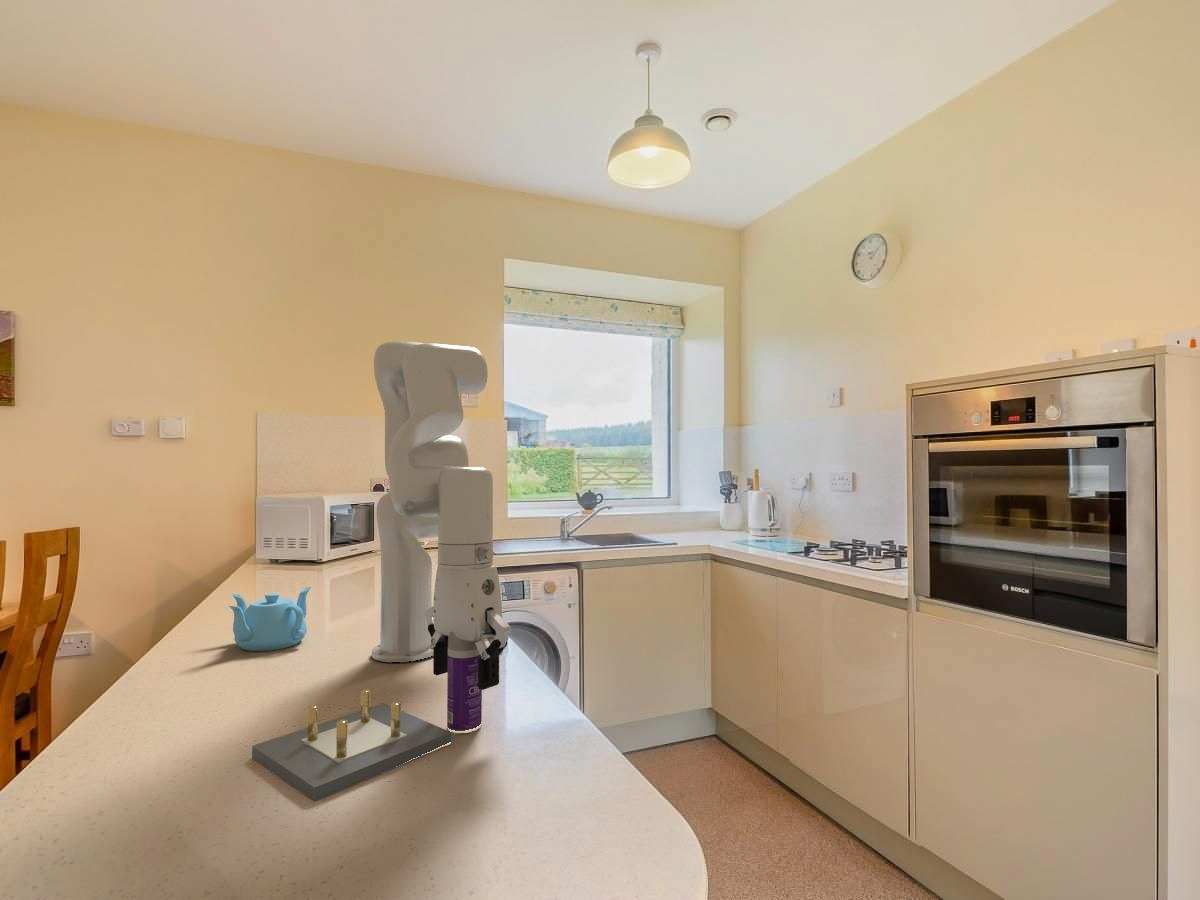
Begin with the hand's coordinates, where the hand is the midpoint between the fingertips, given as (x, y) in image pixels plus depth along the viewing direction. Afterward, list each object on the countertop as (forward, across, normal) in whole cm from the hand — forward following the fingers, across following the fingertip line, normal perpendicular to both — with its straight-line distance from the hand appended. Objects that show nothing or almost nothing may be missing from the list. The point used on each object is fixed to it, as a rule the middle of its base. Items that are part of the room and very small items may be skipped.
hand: (465, 679), depth 86 cm
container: (+7, 0, 0) cm, 7 cm away
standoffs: (+5, +5, +13) cm, 15 cm away
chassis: (+7, +5, +13) cm, 16 cm away
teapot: (+6, +64, -1) cm, 65 cm away
